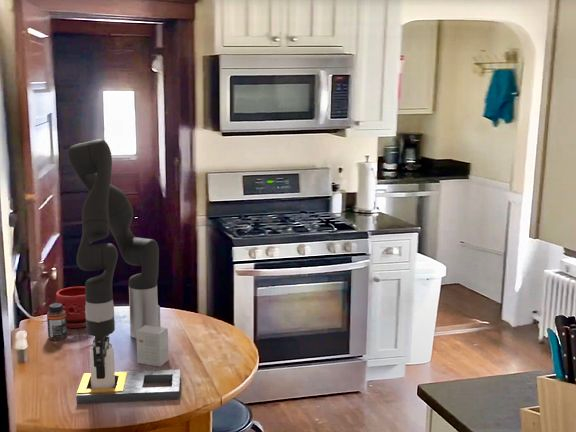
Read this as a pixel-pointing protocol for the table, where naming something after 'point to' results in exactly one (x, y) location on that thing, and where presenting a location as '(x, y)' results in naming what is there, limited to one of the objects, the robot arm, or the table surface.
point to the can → (109, 370)
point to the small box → (152, 345)
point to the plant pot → (73, 305)
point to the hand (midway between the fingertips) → (102, 372)
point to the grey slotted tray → (131, 387)
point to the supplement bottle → (56, 322)
